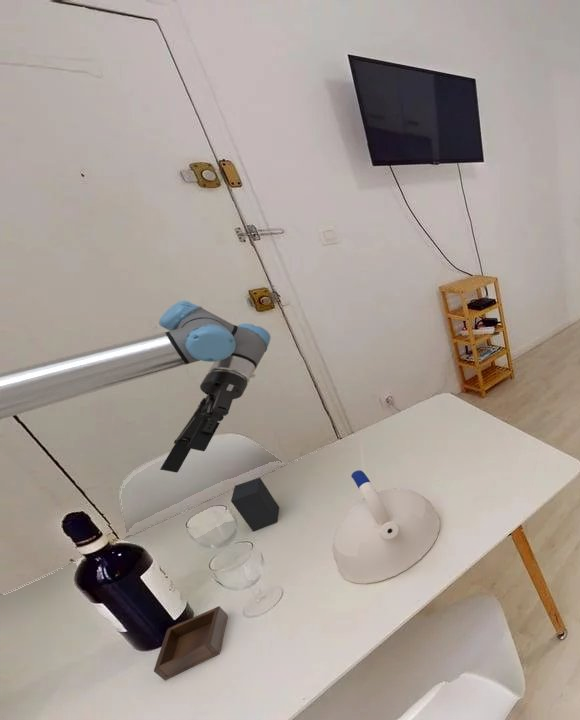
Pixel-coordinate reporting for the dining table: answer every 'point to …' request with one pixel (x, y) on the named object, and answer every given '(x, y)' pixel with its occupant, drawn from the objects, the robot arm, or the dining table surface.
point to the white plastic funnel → (383, 533)
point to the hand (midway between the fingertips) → (181, 460)
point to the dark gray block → (255, 504)
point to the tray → (191, 643)
